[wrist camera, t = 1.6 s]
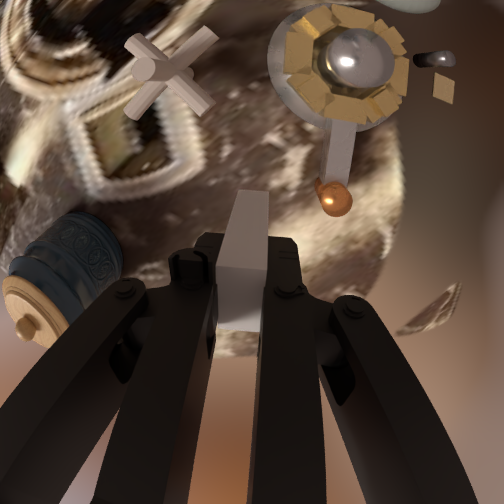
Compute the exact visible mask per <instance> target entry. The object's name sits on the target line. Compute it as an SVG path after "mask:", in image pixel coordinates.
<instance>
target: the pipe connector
mask: <svg viewBox="0 0 504 504" xmlns="http://www.w3.org/2000/svg"><path fill="white" fill-rule="evenodd" d="M218 39H219V37H218V36H216V35H215V34H214V33H213V32H212V31H211V30H210V29H208V28H207V27H206V26H205V25H204V26H203V27H202V28H201V29H200V30H198V31H197V32H196V33H195V34H194V35H193V36H192V37H190V38H189V39H188V40H187V41H186V42H185V43H184V44H183V45H182V46H181V47H180V48H179V49H178V50H176V51H175V52H174V53H173V54H172V55H171V56H170V57H169V58H168V57H167V56H166V55H165V54H164V53H163V52H162V51H160V50H159V49H158V48H157V47H156V46H155V45H153V44H152V43H151V42H150V41H149V40H147V39H146V38H145V37H144V36H143V35H141V34H140V33H137V34H135V35H133V36H131V37H130V38H129V39H128V40H127V42H126V43H125V48H126V49H127V50H129V51H130V52H131V53H132V54H133V55H134V56H136V57H137V58H138V60H137V61H136V62H135V63H134V64H133V66H132V76H133V77H134V79H136V80H137V81H147V82H146V83H145V84H144V85H143V86H142V87H141V88H140V90H139V91H138V92H137V93H136V94H135V96H134V97H133V98H132V99H131V100H130V102H129V103H128V104H127V105H126V107H125V108H124V112H125V114H126V115H127V116H128V117H130V118H131V119H134V120H138V119H139V118H140V117H141V116H142V114H143V113H144V112H145V111H146V110H147V109H148V107H149V106H150V105H151V104H152V103H153V102H154V101H155V100H156V99H157V97H158V96H159V95H160V94H161V93H162V92H163V91H164V90H165V89H166V88H167V87H168V86H169V87H170V88H171V89H172V90H173V91H174V92H175V93H176V94H177V95H178V96H179V97H180V98H181V99H182V100H183V101H184V102H185V103H186V104H187V105H188V106H189V107H191V108H192V109H193V110H194V111H195V112H196V113H197V114H198V115H199V116H200V117H201V116H202V115H204V114H205V113H206V112H207V111H208V110H210V109H211V108H212V107H213V106H214V105H215V103H216V102H215V101H214V100H213V99H212V98H211V97H210V96H209V95H208V94H207V93H206V92H205V91H204V90H203V89H202V88H201V87H200V86H199V85H198V84H197V83H196V82H195V81H194V80H193V77H194V72H193V70H192V69H191V68H190V67H188V66H189V65H190V64H191V63H192V62H193V61H194V60H195V59H196V58H197V57H199V56H200V55H201V54H202V53H203V52H204V51H205V50H206V49H208V48H209V47H210V46H211V45H212V44H213V43H215V42H216V41H217V40H218Z"/></svg>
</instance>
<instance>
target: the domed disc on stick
mask: <svg viewBox="0 0 504 504" xmlns="http://www.w3.org/2000/svg"><path fill="white" fill-rule="evenodd" d="M353 28H363V29H367V30H370V31H372V32H375V33H376V34H378V35H379V36H381V37H382V38H383V39H384V40H385V41H386V42H387V43H388V45H389V46H390V48H391V50H392V52H393V55H394V60H395V67H394V71H393V74H392V76H391V78H390V79H389V80H388V81H387V82H386V83H384V84H383V85H380V86H377V87H370V88H369V89H367V90H366V91H364V92H363V93H361V94H360V95H359V96H357V97H356V98H351V97H346V96H341V95H336V94H332V93H331V91H330V88H329V87H328V86H327V85H326V83H325V82H324V81H323V80H322V79H321V77H320V76H319V75H318V74H315V73H314V71H313V70H312V55H313V43H314V42H315V41H317V40H318V39H320V38H321V37H323V36H325V35H326V34H328V33H329V32H335V33H340V34H341V33H343V32H344V31H346V30H349V29H353ZM402 42H404V39H403V38H402V37H401V35H400V34H399V33H398V31H397V30H396V29H395V27H391V28H388V26H387V25H386V24H385V23H384V21H383V20H382V19H379V20H378V21H376V22H374V14H372V13H369V12H365V11H361V10H358V9H354V8H349V7H345V6H341V5H336V4H331V6H330V7H329V8H327V7H326V6H325V5H323V6H321V7H319V8H318V7H317V8H316V9H314V10H312V11H311V12H309V13H307V14H306V15H304V16H303V17H302V18H301V19H300V20H298V21H297V22H295V23H294V24H292V25H291V26H290V29H289V32H287V33H286V37H285V47H284V62H283V74H285V75H292V76H291V77H289V78H288V79H287V80H286V82H287V83H288V85H289V86H290V87H291V88H292V89H293V90H294V91H295V92H296V93H297V95H298V96H299V97H300V98H301V99H302V100H303V101H304V103H305V104H306V105H307V106H308V107H309V108H310V110H311V111H313V112H315V113H318V112H319V113H318V115H320V116H322V117H326V125H325V134H324V142H323V150H322V157H321V165H320V172H319V177H318V178H317V179H316V181H315V191H316V193H317V196H318V198H319V200H320V203H321V205H322V208H323V210H324V211H325V212H326V213H327V214H328V215H330V216H333V217H340V216H343V215H345V214H346V213H347V212H348V211H349V210H350V209H351V207H352V202H353V200H352V196H351V194H350V193H349V191H348V190H347V183H348V178H349V172H350V167H351V161H352V155H353V148H354V142H355V135H356V128H357V123H360V124H364V125H366V121H367V122H370V123H374V122H375V121H377V120H378V119H379V118H381V117H382V116H383V117H388V116H389V115H391V114H392V113H393V112H395V111H396V110H398V109H399V107H398V105H400V104H401V103H402V100H401V99H400V97H399V96H406V92H407V82H408V69H409V59H407V58H404V57H401V56H402V55H403V54H405V53H407V51H406V50H405V49H404V47H403V46H402V45H401V43H402Z"/></svg>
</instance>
